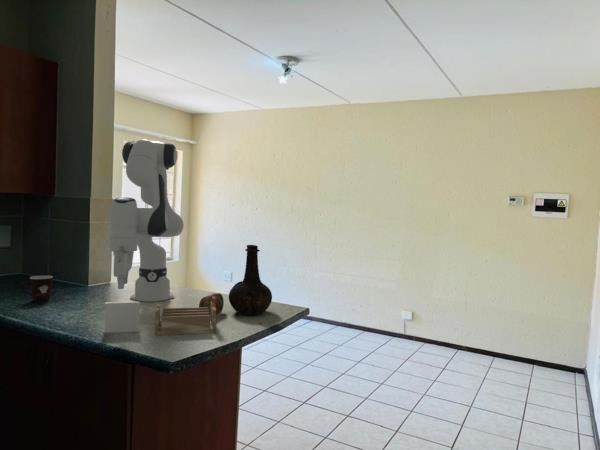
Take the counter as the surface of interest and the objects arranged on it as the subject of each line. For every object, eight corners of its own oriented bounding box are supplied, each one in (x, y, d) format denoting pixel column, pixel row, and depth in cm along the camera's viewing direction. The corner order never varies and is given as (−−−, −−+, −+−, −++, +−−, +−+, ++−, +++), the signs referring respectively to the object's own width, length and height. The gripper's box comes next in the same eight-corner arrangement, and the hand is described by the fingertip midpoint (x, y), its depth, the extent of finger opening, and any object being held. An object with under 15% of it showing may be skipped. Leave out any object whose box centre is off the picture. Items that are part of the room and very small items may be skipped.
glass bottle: (250, 305, 197) (252, 242, 196) (280, 312, 186) (282, 245, 184) (219, 312, 183) (220, 244, 182) (249, 320, 172) (251, 248, 171)
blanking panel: (105, 331, 153) (105, 302, 152) (139, 329, 156) (140, 301, 155) (104, 332, 151) (104, 303, 150) (139, 331, 154) (139, 302, 153)
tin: (204, 320, 170) (204, 298, 170) (197, 319, 171) (197, 297, 171) (224, 312, 184) (224, 291, 184) (217, 311, 185) (218, 291, 185)
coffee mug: (54, 297, 198) (54, 275, 197) (50, 302, 190) (50, 278, 189) (24, 298, 194) (24, 275, 194) (19, 303, 186) (19, 279, 185)
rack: (156, 324, 162) (157, 294, 162) (212, 322, 167) (213, 293, 167) (155, 335, 150) (155, 302, 149) (215, 332, 155) (216, 301, 154)
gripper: (130, 248, 142) (129, 291, 143) (136, 243, 162) (135, 281, 163) (108, 248, 141) (108, 292, 141) (117, 242, 160) (116, 281, 161)
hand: (122, 286), depth 152 cm, fingers open, 8 cm apart
